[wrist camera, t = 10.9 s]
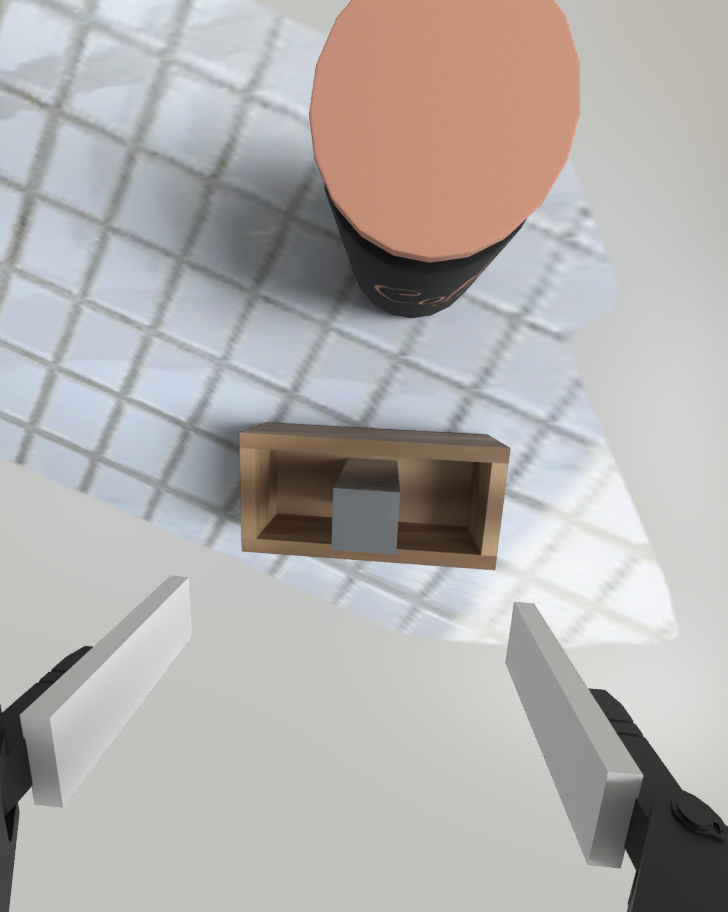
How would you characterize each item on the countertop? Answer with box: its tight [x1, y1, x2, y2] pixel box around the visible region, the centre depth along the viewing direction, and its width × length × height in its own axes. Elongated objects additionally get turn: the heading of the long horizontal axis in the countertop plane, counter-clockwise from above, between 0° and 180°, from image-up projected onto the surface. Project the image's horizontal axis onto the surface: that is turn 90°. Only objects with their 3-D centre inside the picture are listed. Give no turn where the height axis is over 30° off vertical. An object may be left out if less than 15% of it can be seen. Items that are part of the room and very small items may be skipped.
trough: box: [239, 423, 510, 570], centre depth 34 cm, size 10×21×7 cm, turn 87°
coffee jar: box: [309, 0, 580, 318], centre depth 24 cm, size 11×11×18 cm
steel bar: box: [332, 458, 400, 555], centre depth 31 cm, size 4×4×10 cm
